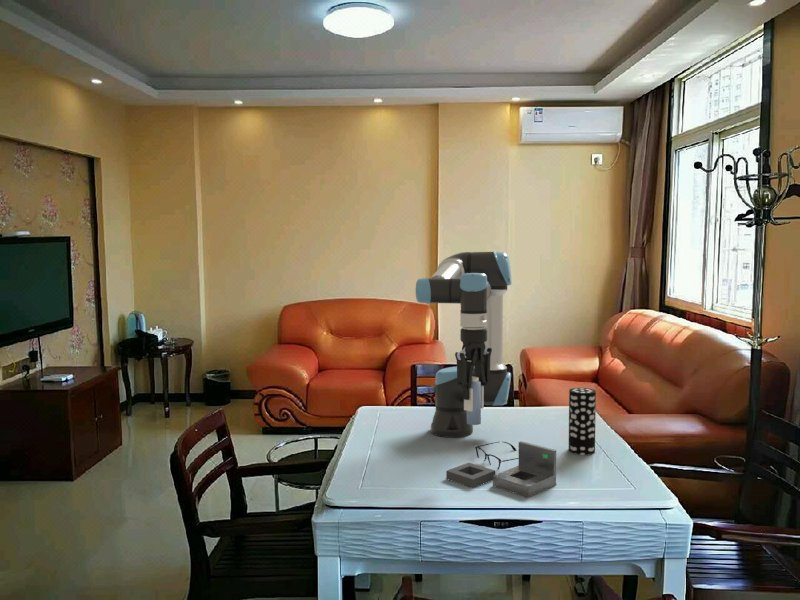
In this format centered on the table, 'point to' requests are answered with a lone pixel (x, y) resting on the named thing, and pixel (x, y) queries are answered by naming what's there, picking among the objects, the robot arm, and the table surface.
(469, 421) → the plug
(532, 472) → the port
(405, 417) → the table surface
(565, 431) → the table surface
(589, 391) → the white-spotted black cylinder
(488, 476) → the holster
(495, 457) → the eyeglasses
